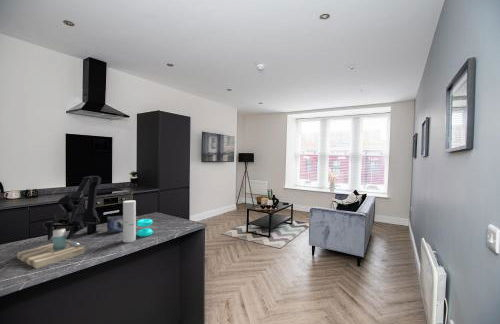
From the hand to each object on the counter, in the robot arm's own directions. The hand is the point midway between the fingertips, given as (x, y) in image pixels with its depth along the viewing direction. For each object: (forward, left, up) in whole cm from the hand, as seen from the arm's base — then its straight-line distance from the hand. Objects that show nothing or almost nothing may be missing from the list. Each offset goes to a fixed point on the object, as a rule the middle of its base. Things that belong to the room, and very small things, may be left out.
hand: (57, 239), depth 130 cm
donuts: (+12, +45, -8) cm, 47 cm away
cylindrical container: (+13, +33, -8) cm, 37 cm away
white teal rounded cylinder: (-1, +1, -8) cm, 8 cm away
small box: (-11, +39, -8) cm, 41 cm away
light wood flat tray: (-1, -2, -8) cm, 8 cm away
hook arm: (-1, +7, -5) cm, 9 cm away
